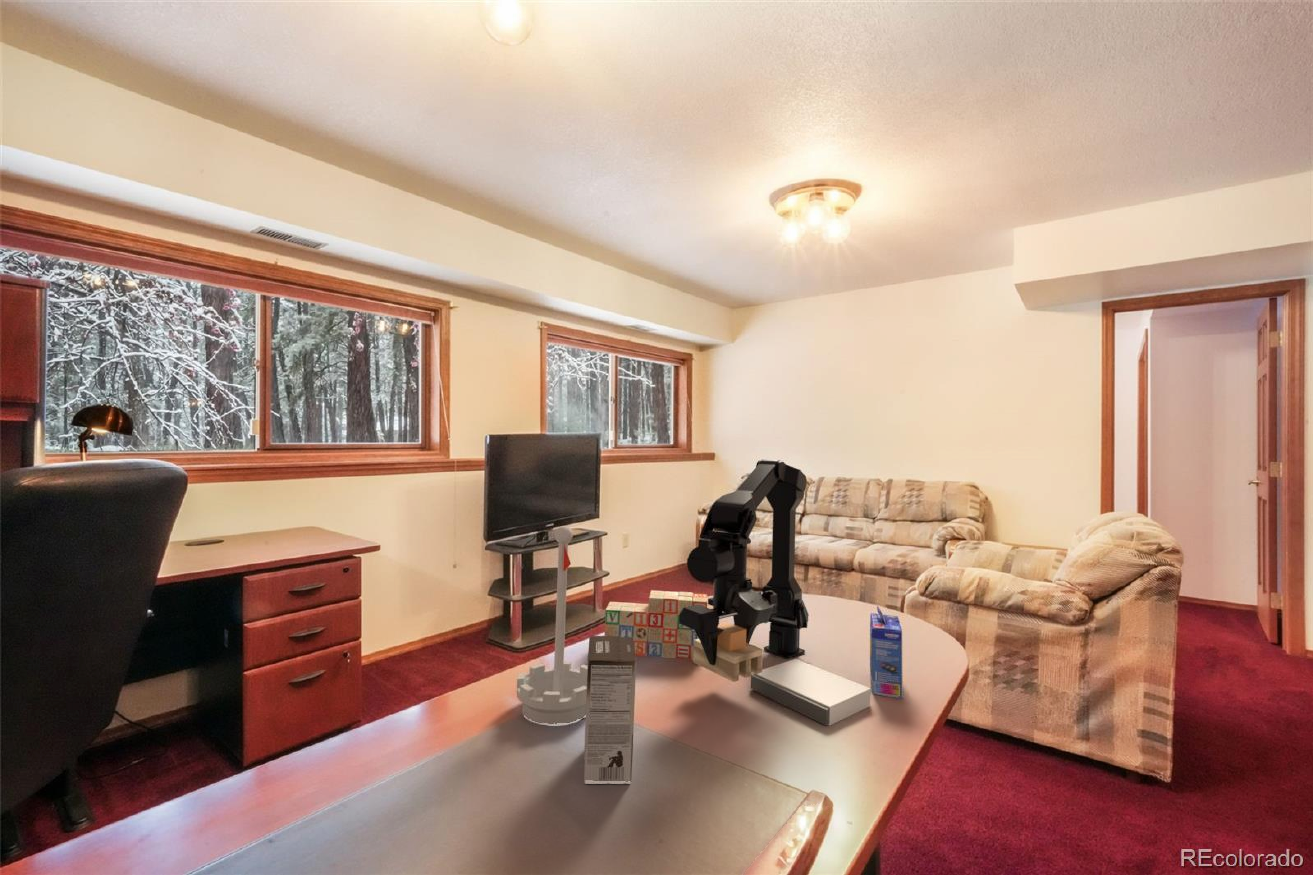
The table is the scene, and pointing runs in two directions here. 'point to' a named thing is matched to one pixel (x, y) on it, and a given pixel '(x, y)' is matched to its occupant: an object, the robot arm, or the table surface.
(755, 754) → the table surface
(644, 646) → the stack of blocks
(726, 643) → the tan cardboard cube
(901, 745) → the table surface
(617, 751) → the coffee box
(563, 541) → the flag stand
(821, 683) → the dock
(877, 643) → the ink cartridge box
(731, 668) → the pallet
